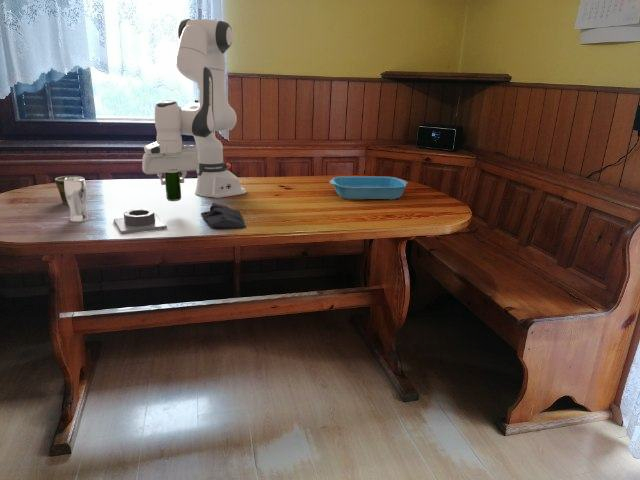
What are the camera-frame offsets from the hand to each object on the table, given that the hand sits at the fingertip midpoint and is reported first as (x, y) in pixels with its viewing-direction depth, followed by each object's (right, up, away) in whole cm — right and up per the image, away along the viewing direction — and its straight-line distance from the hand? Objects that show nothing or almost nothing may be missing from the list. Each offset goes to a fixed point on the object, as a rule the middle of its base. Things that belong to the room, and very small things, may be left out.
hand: (172, 183), depth 182 cm
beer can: (0, -6, +2) cm, 6 cm away
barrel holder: (-9, -16, -10) cm, 21 cm away
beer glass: (-32, -14, -7) cm, 35 cm away
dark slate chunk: (+19, -15, 0) cm, 24 cm away
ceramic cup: (-46, -6, +14) cm, 48 cm away
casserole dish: (+78, 0, +46) cm, 91 cm away
